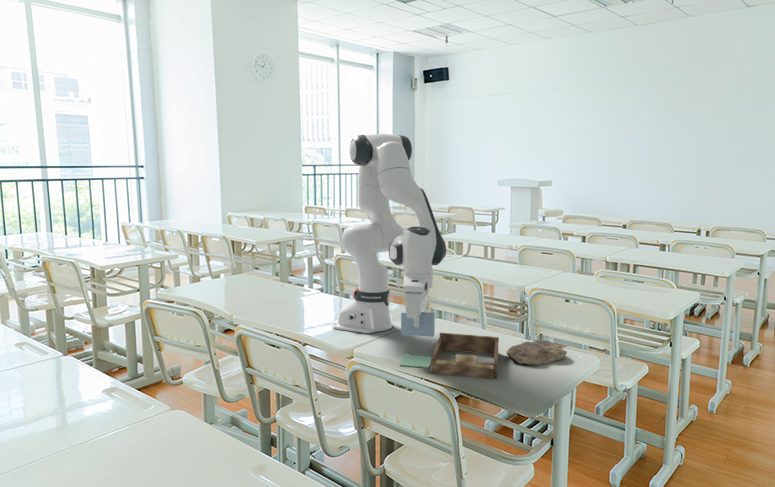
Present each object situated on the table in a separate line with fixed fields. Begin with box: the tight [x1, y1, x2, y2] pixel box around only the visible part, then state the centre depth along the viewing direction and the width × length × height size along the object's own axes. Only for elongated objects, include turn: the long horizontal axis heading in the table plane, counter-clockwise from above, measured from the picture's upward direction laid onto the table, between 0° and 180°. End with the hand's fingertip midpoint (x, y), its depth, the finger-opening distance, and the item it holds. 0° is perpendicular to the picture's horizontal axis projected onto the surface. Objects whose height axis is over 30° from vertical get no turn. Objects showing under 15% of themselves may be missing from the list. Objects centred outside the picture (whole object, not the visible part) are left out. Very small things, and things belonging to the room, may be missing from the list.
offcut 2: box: [474, 364, 494, 369], centre depth 160 cm, size 6×3×2 cm, turn 77°
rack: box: [430, 332, 500, 380], centre depth 168 cm, size 19×22×6 cm
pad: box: [399, 354, 432, 369], centre depth 169 cm, size 9×9×1 cm
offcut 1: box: [435, 360, 456, 366], centre depth 163 cm, size 6×3×2 cm, turn 77°
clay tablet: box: [506, 339, 568, 366], centre depth 174 cm, size 14×5×20 cm
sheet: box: [400, 310, 436, 338], centre depth 167 cm, size 10×2×7 cm, turn 78°
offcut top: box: [455, 353, 478, 367], centre depth 161 cm, size 6×3×2 cm, turn 83°
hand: (417, 325), depth 167 cm, fingers closed on sheet, 2 cm apart
